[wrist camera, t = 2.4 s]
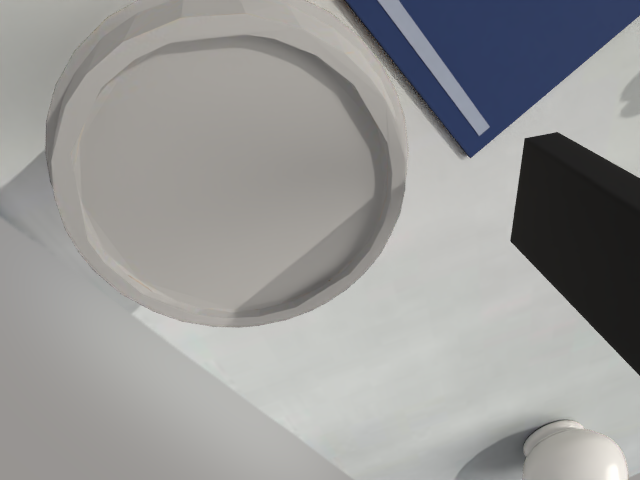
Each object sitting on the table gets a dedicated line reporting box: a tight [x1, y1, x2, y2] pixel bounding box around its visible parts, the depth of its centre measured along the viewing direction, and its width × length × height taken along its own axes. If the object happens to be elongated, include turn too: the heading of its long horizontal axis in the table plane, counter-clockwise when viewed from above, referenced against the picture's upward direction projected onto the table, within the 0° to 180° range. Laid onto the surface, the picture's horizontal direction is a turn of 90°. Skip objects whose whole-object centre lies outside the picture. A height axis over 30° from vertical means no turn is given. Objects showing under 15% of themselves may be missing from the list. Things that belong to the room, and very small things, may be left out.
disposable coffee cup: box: [46, 0, 408, 327], centre depth 16 cm, size 10×10×12 cm
